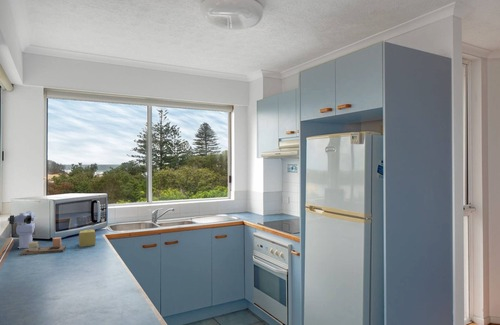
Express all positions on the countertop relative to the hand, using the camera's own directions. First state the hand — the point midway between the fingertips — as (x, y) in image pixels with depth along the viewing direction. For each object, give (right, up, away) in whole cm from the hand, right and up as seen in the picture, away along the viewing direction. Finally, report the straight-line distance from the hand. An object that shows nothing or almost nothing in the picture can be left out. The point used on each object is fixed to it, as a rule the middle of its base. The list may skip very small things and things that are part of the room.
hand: (17, 220), depth 222 cm
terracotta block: (+16, -21, +17) cm, 32 cm away
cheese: (+33, -22, +25) cm, 47 cm away
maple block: (+7, -21, +5) cm, 23 cm away
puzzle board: (+13, -21, +7) cm, 26 cm away
